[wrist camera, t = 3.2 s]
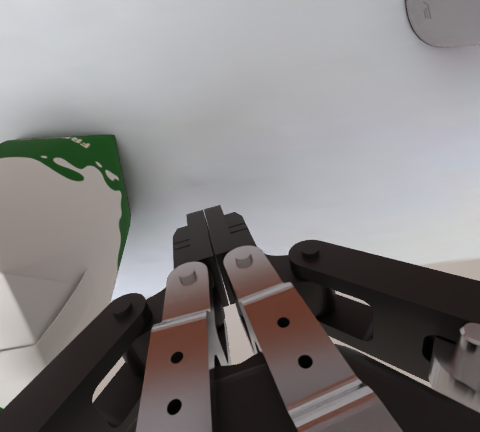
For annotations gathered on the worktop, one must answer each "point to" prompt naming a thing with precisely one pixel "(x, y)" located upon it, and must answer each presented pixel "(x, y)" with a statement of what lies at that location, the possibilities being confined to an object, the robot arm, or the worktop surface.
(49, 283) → the soya milk
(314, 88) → the worktop surface
